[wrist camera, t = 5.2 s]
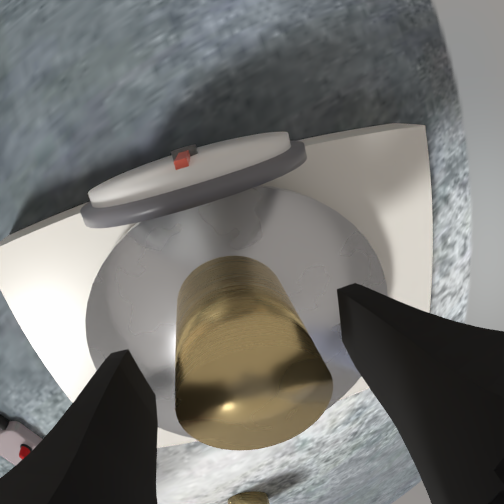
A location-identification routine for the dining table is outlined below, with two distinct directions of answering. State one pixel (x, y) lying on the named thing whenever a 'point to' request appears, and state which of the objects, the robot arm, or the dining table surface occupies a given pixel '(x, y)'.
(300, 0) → the dining table surface
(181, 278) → the scale pan
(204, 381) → the brass weight
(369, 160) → the scale
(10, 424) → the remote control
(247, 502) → the cylinder
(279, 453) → the dining table surface
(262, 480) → the dining table surface
